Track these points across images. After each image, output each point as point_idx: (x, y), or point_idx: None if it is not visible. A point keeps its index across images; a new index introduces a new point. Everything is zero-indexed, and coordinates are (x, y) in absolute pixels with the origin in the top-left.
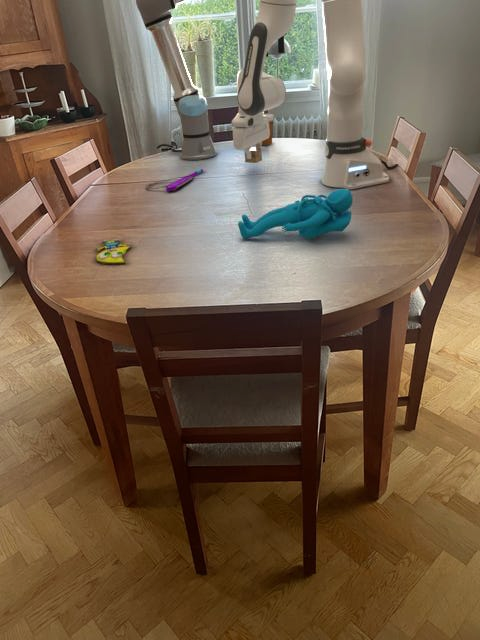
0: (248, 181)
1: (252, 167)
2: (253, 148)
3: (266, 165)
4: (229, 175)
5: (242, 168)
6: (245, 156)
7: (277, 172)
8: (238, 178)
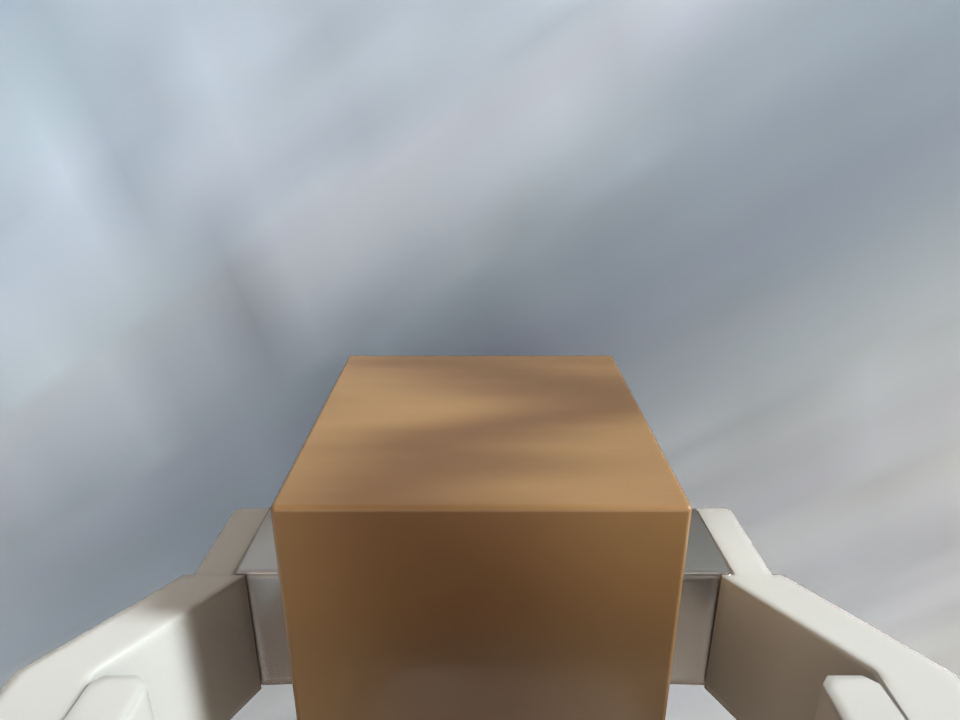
0: (62, 531)
1: (733, 212)
2: (533, 677)
3: (884, 387)
4: (149, 57)
5: (633, 48)
6: (323, 424)
7: None
8: (95, 321)
